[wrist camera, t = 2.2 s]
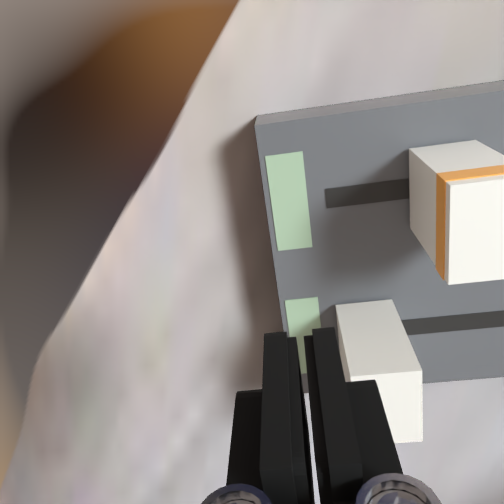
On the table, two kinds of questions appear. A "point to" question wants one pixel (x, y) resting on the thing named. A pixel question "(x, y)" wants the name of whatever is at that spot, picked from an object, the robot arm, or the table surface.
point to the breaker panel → (378, 243)
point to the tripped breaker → (459, 209)
